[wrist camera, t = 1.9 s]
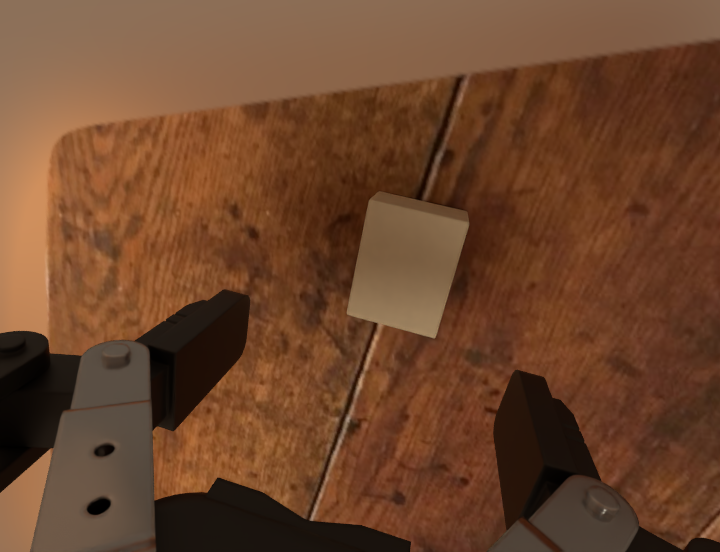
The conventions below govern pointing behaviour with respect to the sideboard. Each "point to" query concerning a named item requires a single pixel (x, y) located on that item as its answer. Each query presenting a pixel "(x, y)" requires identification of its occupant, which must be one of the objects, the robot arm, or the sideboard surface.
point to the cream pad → (406, 262)
